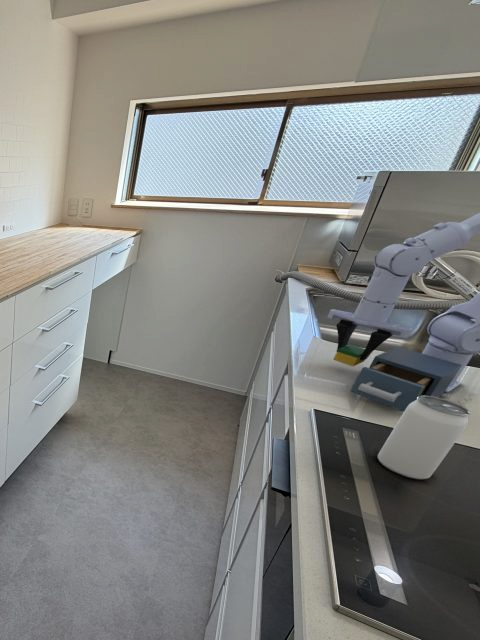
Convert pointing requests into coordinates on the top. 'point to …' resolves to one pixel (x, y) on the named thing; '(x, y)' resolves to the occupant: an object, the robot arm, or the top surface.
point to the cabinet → (421, 367)
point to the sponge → (349, 355)
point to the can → (423, 437)
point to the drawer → (391, 385)
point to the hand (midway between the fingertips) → (351, 355)
